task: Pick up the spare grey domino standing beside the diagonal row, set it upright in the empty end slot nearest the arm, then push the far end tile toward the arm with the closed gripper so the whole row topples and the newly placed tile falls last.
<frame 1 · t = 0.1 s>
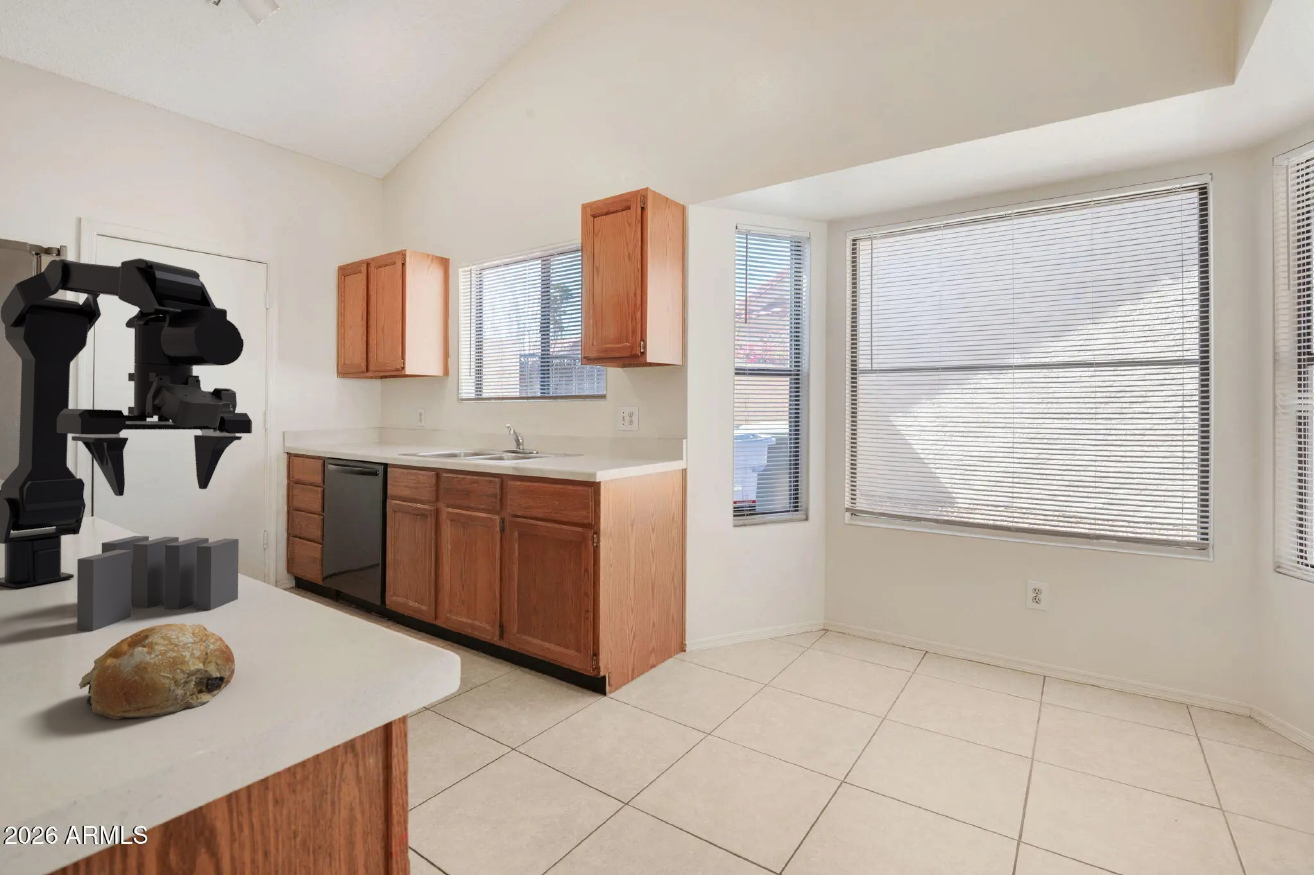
hand: (163, 492, 78), 15 cm above the worktop, fingers open, 9 cm apart
tile 3: (156, 602, 81), on the worktop
tile 5: (217, 604, 81), on the worktop
tile 1: (105, 623, 73), on the worktop
bread roll: (158, 699, 55), on the worktop
tile 2: (125, 601, 81), on the worktop
tile 4: (187, 603, 81), on the worktop
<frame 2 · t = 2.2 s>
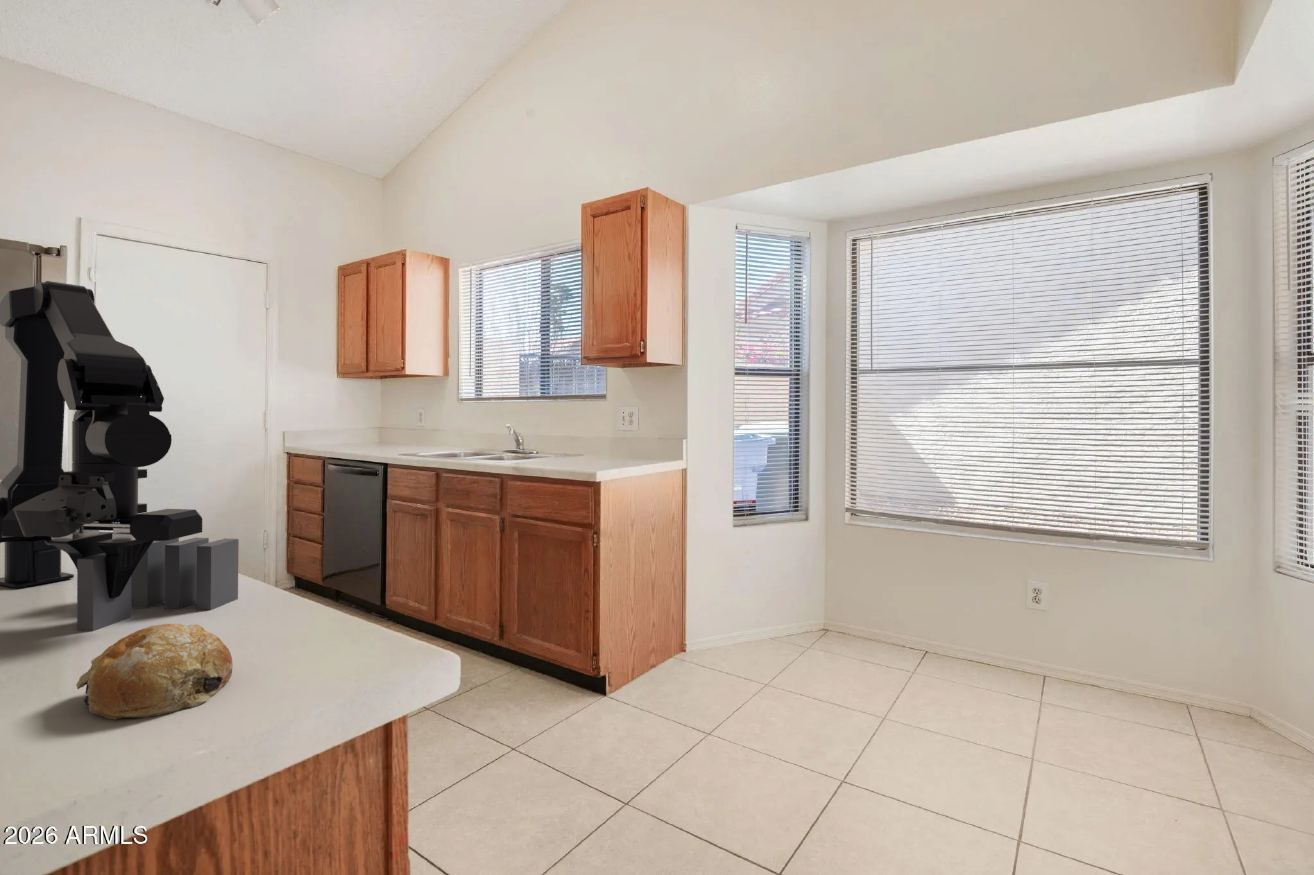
hand: (105, 597, 73), 3 cm above the worktop, fingers closed on tile 1, 2 cm apart
tile 1: (105, 623, 73), on the worktop, touching gripper
everything else where it was.
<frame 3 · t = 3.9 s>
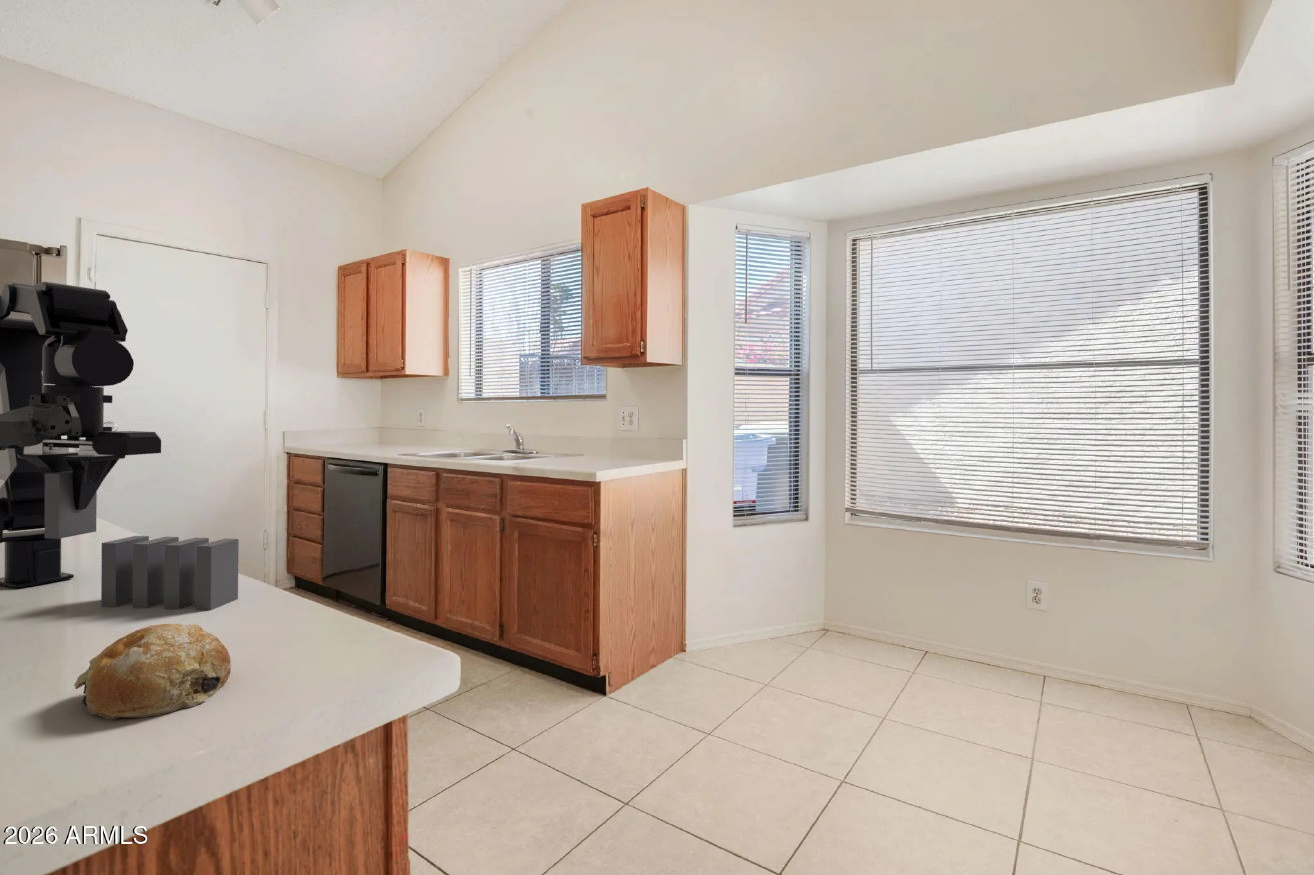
hand: (72, 509, 80), 12 cm above the worktop, fingers closed on tile 1
tile 1: (71, 534, 80), point 9 cm above the worktop, touching gripper
everything else where it was.
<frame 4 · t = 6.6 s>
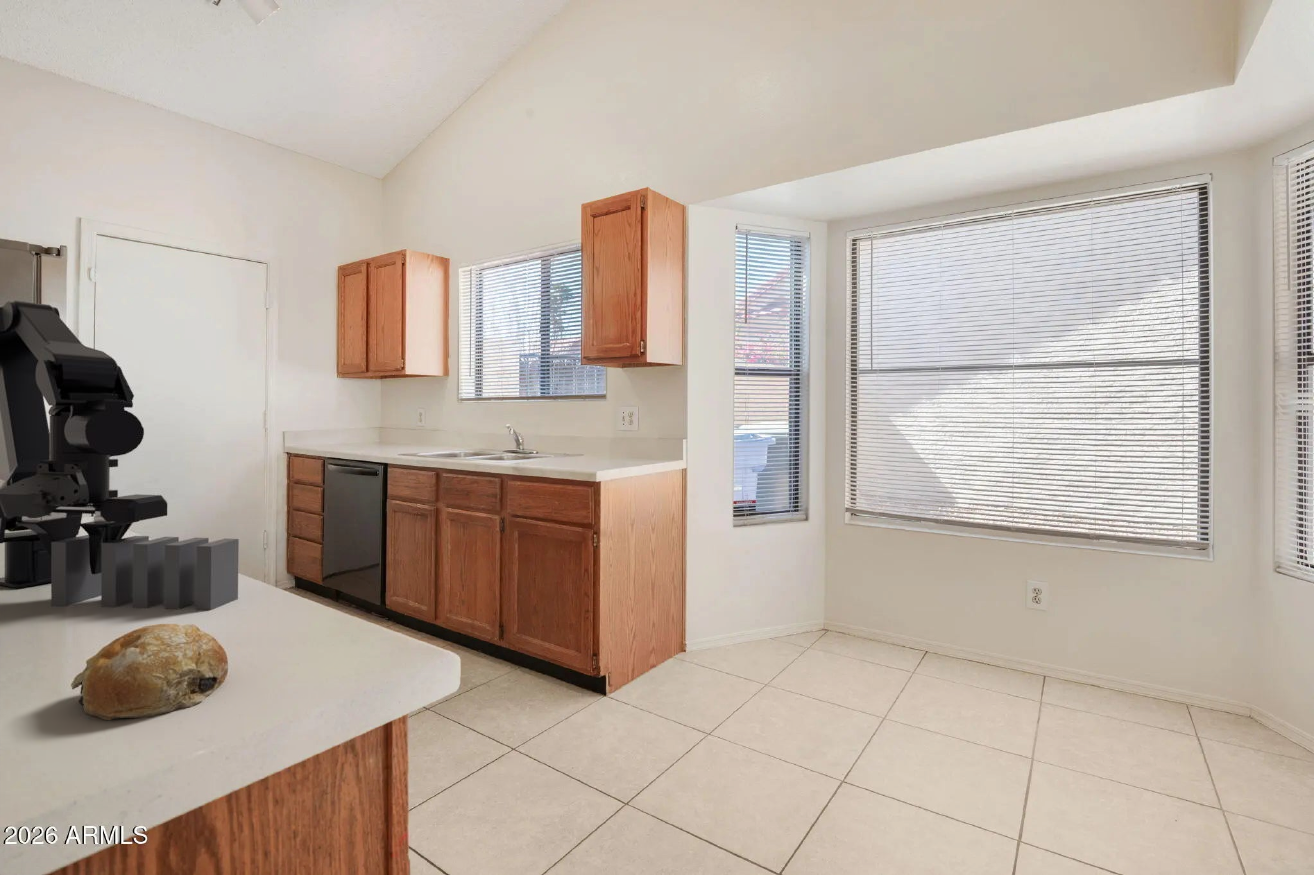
hand: (79, 573, 81), 3 cm above the worktop, fingers open, 4 cm apart
tile 1: (77, 600, 81), on the worktop
everything else where it was.
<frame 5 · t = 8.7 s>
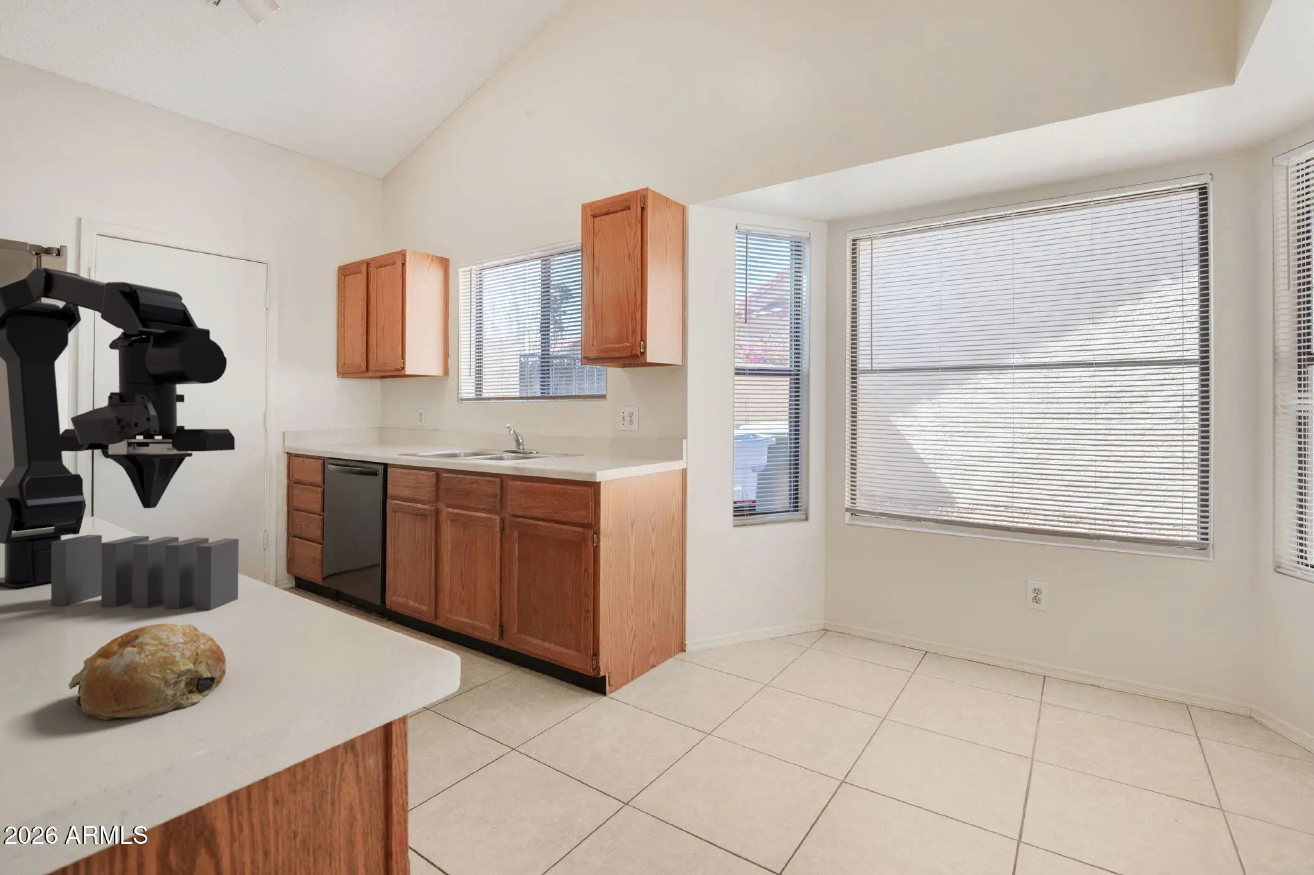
hand: (149, 508, 81), 12 cm above the worktop, fingers closed
nothing on the worktop moved.
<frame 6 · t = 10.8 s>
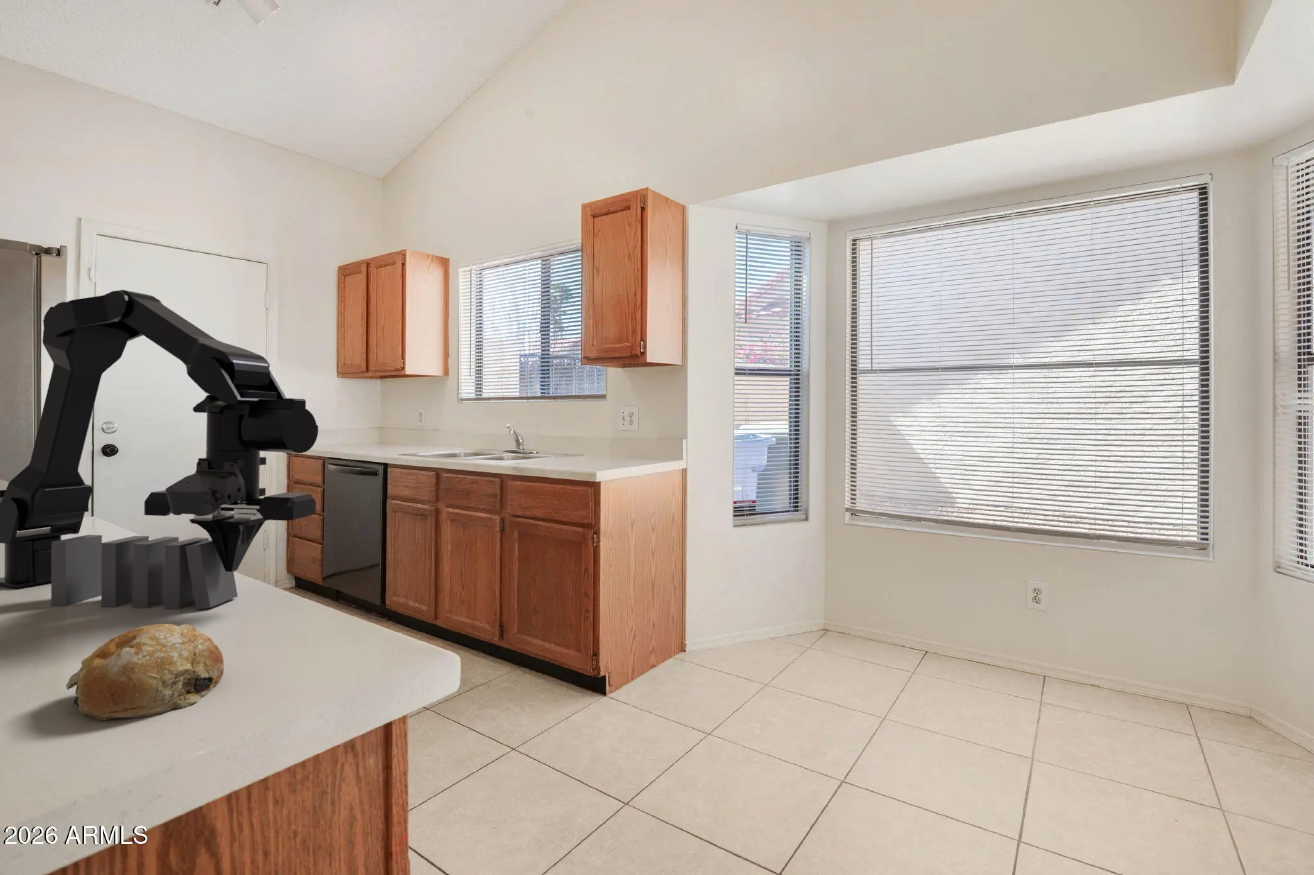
hand: (231, 571, 81), 4 cm above the worktop, fingers closed
tile 5: (217, 603, 81), on the worktop, tilted 11°
everything else where it was.
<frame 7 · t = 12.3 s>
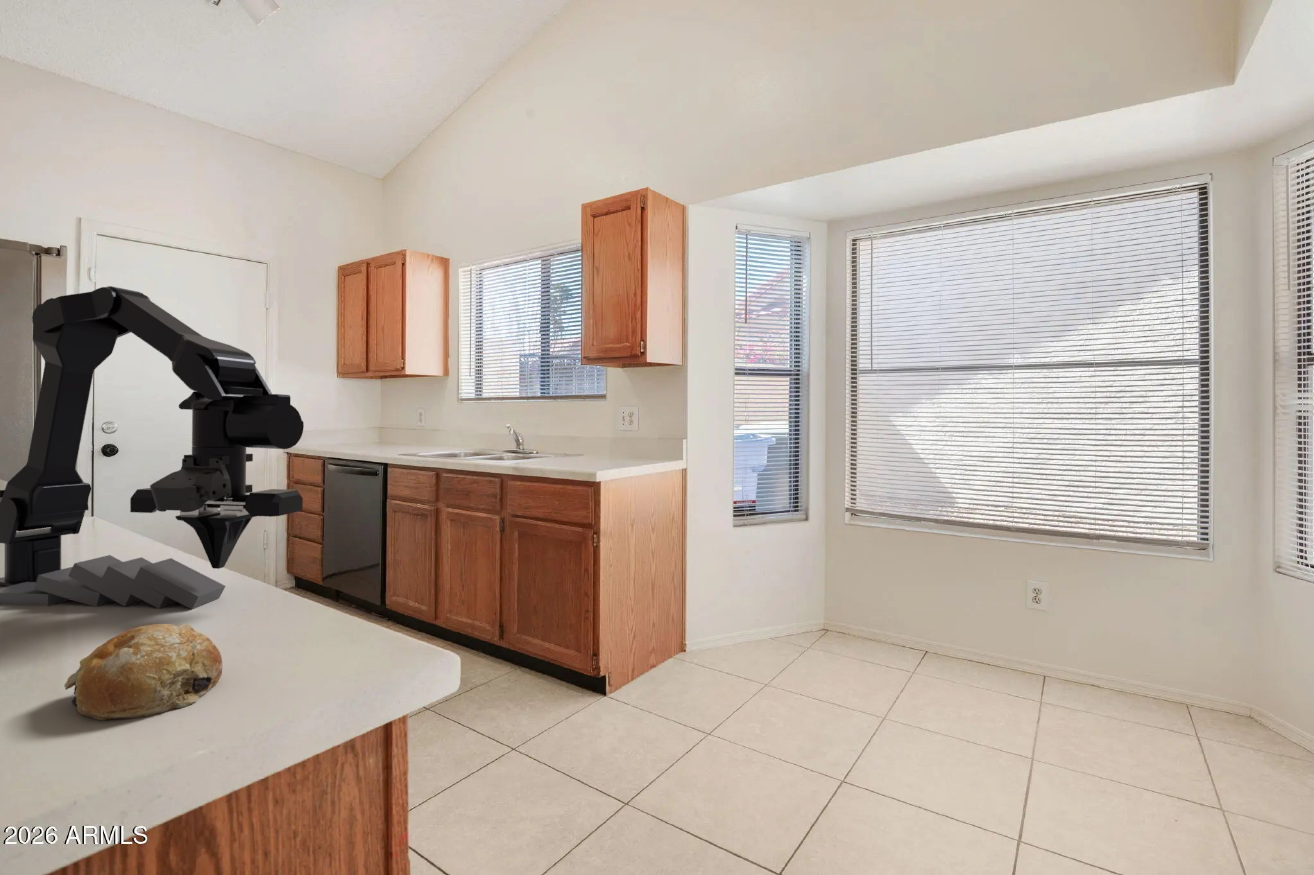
hand: (218, 568, 81), 5 cm above the worktop, fingers closed
tile 3: (144, 594, 81), point 1 cm above the worktop, tilted 64°, touching tile 4
tile 5: (209, 597, 81), point 1 cm above the worktop, tilted 64°, touching tile 4
tile 1: (67, 596, 81), point 1 cm above the worktop, tilted 90°
tile 2: (115, 594, 81), point 1 cm above the worktop, tilted 75°
tile 4: (177, 596, 81), point 1 cm above the worktop, tilted 64°, touching tile 3, tile 5
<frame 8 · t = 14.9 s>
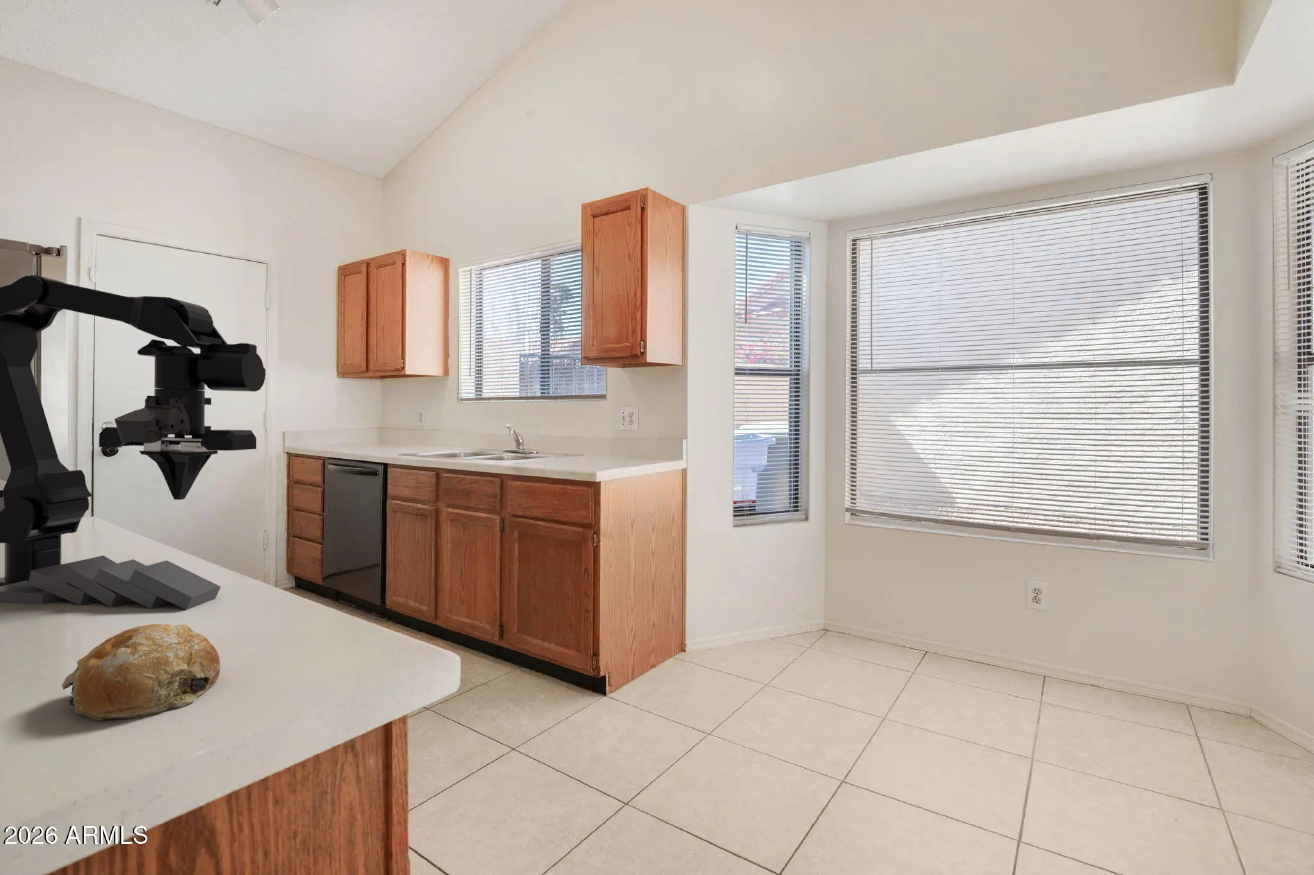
hand: (179, 499, 90), 12 cm above the worktop, fingers closed
tile 3: (131, 595, 81), point 1 cm above the worktop, tilted 65°, touching tile 2, tile 4
tile 1: (62, 595, 81), on the worktop, tilted 90°
tile 2: (102, 593, 81), point 1 cm above the worktop, tilted 74°, touching tile 3
at the end: tile 1 tilted 90°; tile 3 tilted 65°; tile 1 inside the target area (2.4 cm from its centre), on the worktop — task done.
